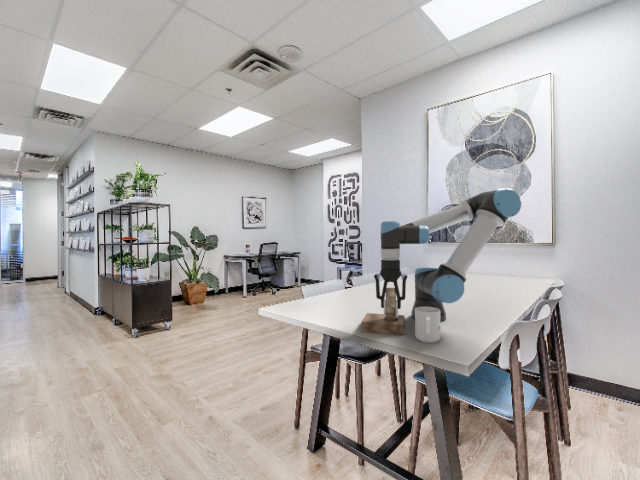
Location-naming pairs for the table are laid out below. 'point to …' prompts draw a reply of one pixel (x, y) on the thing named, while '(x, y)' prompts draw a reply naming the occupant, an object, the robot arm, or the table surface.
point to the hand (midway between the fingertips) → (391, 316)
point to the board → (382, 324)
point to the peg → (390, 304)
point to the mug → (427, 324)
